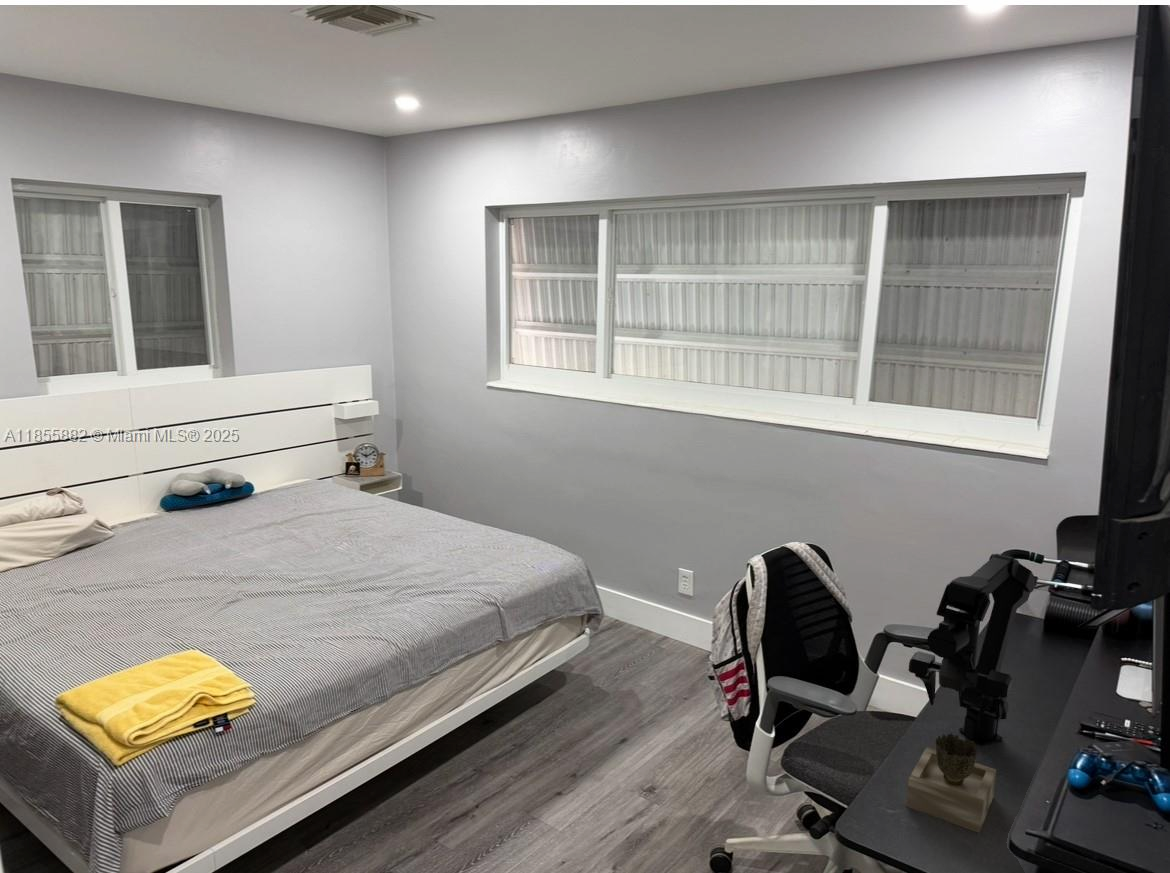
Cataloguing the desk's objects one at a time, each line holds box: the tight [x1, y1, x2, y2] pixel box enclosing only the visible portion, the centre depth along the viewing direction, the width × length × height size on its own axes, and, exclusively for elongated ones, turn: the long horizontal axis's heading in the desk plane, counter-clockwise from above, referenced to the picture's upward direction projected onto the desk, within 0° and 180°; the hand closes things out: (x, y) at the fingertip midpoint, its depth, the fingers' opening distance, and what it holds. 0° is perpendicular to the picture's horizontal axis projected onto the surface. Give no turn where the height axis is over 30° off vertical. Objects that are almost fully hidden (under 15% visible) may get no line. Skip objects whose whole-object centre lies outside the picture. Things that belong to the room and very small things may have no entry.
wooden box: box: [906, 746, 997, 834], centre depth 158 cm, size 13×13×6 cm
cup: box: [935, 732, 979, 785], centre depth 157 cm, size 8×7×8 cm
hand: (955, 711), depth 168 cm, fingers open, 9 cm apart
